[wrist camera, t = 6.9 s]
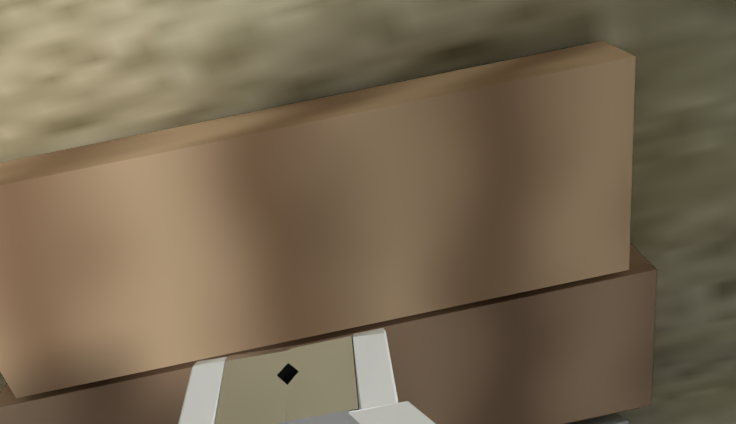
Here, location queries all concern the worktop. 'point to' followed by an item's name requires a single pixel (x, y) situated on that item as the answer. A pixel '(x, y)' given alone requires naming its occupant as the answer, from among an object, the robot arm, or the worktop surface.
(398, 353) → the walnut strip
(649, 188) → the worktop surface
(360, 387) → the robot arm
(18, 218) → the smoked oak plank
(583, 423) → the grey plank
